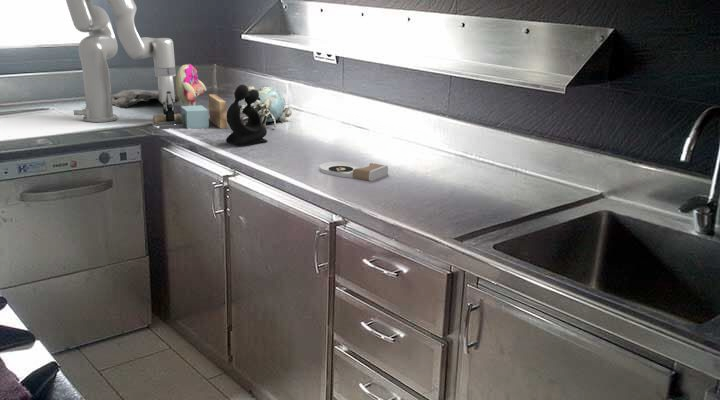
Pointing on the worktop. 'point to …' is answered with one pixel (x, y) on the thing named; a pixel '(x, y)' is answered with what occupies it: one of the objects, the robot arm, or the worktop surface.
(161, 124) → the guide rails
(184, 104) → the toy
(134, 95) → the stone fragment
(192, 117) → the block
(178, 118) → the dowel
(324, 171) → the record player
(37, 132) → the worktop surface
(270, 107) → the sculpture
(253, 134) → the figurine
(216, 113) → the block
